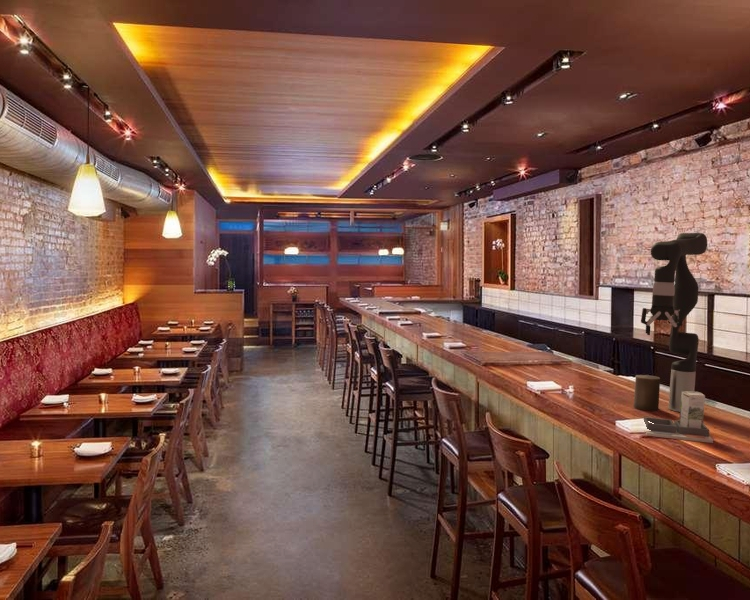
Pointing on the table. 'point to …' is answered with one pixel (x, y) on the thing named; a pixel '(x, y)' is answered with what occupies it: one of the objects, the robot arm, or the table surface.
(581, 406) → the table surface
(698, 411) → the syrup box
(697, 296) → the robot arm
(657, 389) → the pillar candle
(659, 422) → the socket board
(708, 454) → the table surface
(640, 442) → the table surface
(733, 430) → the table surface
